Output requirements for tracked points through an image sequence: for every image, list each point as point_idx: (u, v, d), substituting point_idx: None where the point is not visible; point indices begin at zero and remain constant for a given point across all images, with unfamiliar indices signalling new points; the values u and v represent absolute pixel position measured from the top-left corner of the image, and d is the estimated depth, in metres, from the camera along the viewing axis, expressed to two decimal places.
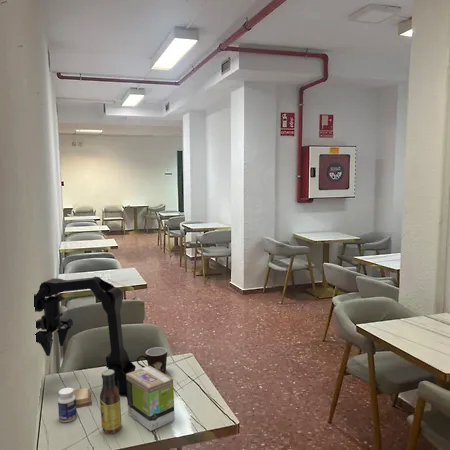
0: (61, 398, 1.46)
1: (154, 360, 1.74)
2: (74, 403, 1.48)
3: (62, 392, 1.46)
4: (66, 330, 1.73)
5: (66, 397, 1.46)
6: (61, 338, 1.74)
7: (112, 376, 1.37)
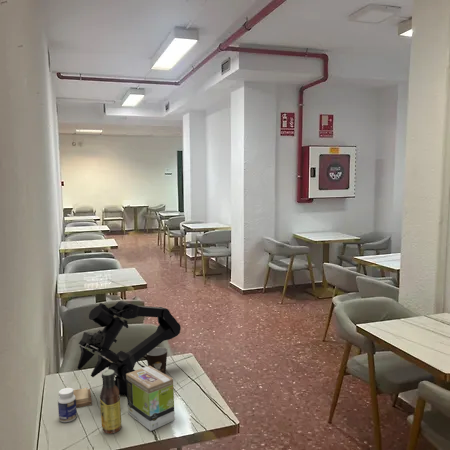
0: (61, 398, 1.46)
1: (154, 360, 1.74)
2: (74, 403, 1.48)
3: (62, 393, 1.46)
4: (92, 354, 1.60)
5: (66, 397, 1.46)
6: (83, 360, 1.57)
7: (112, 376, 1.37)
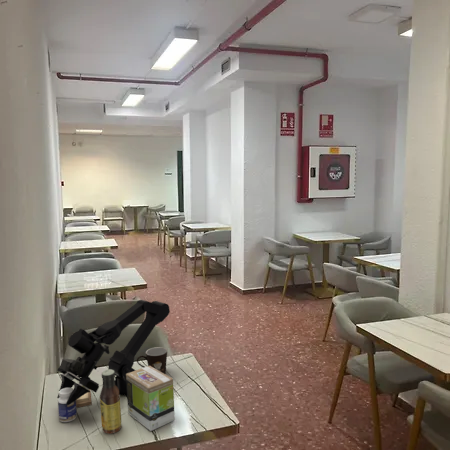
0: (61, 398, 1.46)
1: (154, 360, 1.74)
2: (74, 403, 1.48)
3: (62, 392, 1.46)
4: (73, 383, 1.53)
5: (66, 397, 1.46)
6: None
7: (112, 376, 1.37)
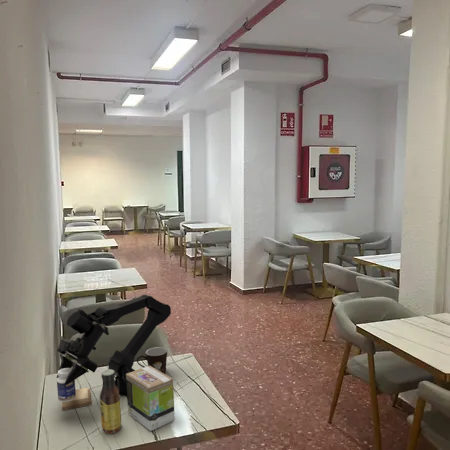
0: (60, 378, 1.46)
1: (154, 360, 1.74)
2: (73, 383, 1.48)
3: (61, 372, 1.46)
4: (73, 363, 1.53)
5: (65, 377, 1.46)
6: None
7: (112, 376, 1.37)
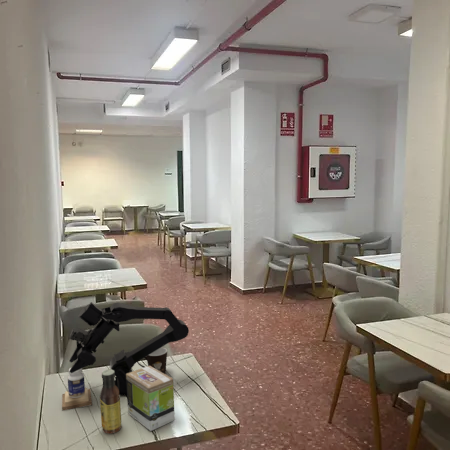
0: (69, 375, 1.57)
1: (154, 360, 1.74)
2: (80, 382, 1.57)
3: None
4: None
5: (72, 374, 1.56)
6: (75, 355, 1.63)
7: (112, 376, 1.37)
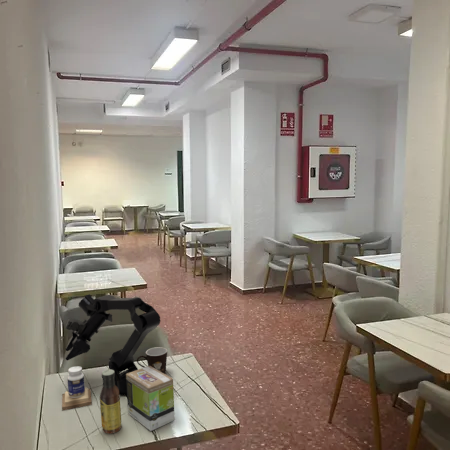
0: (69, 375, 1.58)
1: (154, 360, 1.74)
2: (80, 382, 1.57)
3: (70, 370, 1.57)
4: None
5: (72, 375, 1.56)
6: (71, 344, 1.73)
7: (112, 376, 1.37)
